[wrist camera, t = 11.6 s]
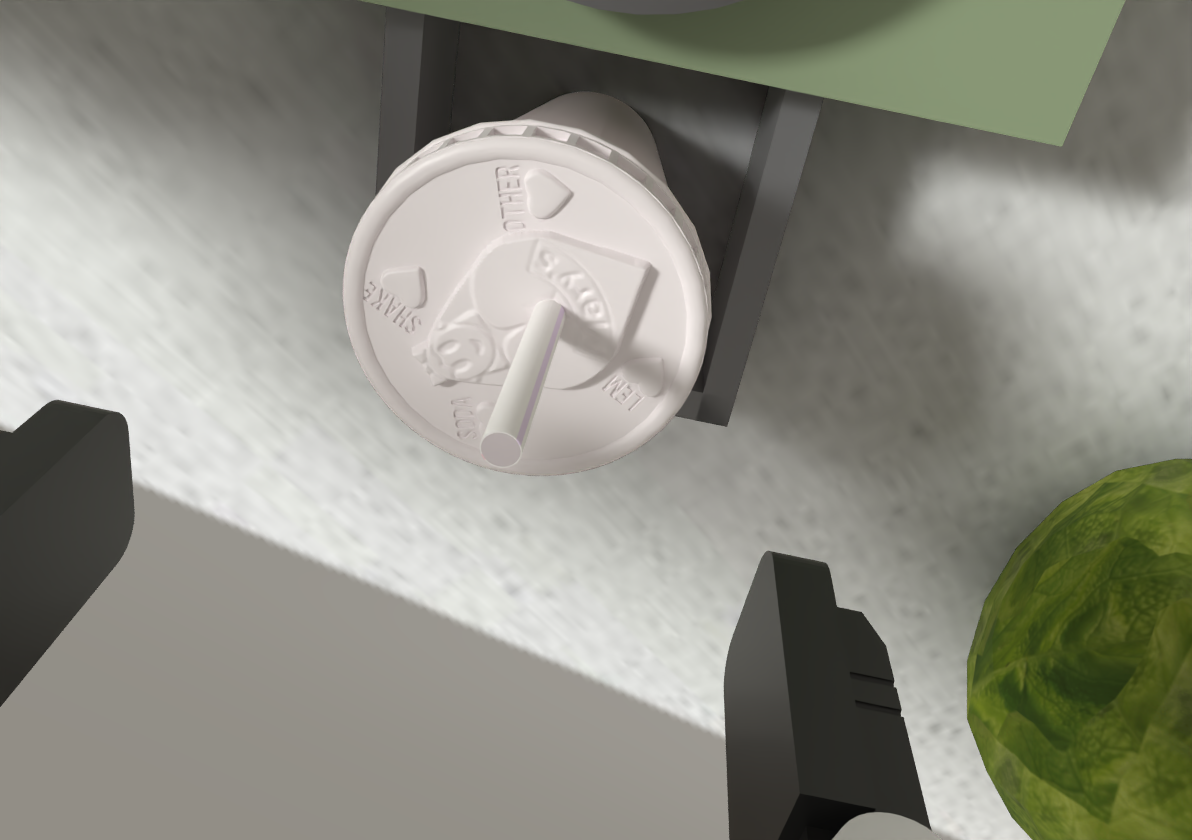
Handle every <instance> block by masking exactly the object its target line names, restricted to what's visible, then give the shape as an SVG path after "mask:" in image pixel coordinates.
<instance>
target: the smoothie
mask: <svg viewBox="0 0 1192 840" xmlns="http://www.w3.org/2000/svg"><path fill="white" fill-rule="evenodd" d="M343 307H344V316H345V321H346V326H347V331H348V334H349V338H350V341H351V344H352V347H353V350H354V352H355V354H356V357H357V359H358V362H359V364H360V366H361V368H362V369H363V371H364V373H365V375H366V377H367V379H368V380H369V382H370V383H371V385H372V386H373V388H374V389H375V391H376V392H377V393H378V395H379V396H380V397H381V399H382V400H383V401H384V403H385V404H386V405H387V406H388V407H389V408H390V409H391V410H392V411H393V412H394V414H395V415H396V416H397V417H398V418H400V419H401V420H402V421H403V422H404V423H405V424H406V425H407V426H408V427H409V428H411V429H412V430H413V431H415V432H416V433H417V434H418V435H420V436H421V437H422V438H424V439H425V440H427V441H428V442H430V443H431V444H433V445H434V446H436V447H438V448H440V449H442V450H443V451H445V452H447V453H449V454H451V455H453V456H455V457H457V458H460V459H462V460H464V461H467V462H469V463H472V464H475V465H478V466H481V467H484V468H488V469H492V470H495V471H500V472H505V473H511V474H519V475H528V476H552V475H564V474H571V473H578V472H582V471H586V470H590V469H594V468H597V467H600V466H603V465H606V464H609V463H611V462H613V461H615V460H618V459H620V458H622V457H624V456H626V455H628V454H629V453H631V452H633V451H635V450H636V449H638V448H639V447H641V446H642V445H644V444H645V443H647V442H648V441H649V440H651V439H652V438H653V437H654V436H655V435H656V434H658V433H659V432H660V431H661V430H662V429H663V428H664V427H665V426H666V425H667V424H668V423H669V422H670V421H671V420H672V419H673V417H674V416H675V415H676V413H677V412H678V411H679V410H680V408H681V407H682V405H683V404H684V402H685V401H686V399H687V397H688V396H689V394H690V392H691V390H692V388H693V386H694V384H695V382H696V380H697V377H698V375H699V372H700V369H701V366H702V363H703V359H704V354H705V350H706V344H707V336H708V330H709V326H710V322H711V318H712V313H711V288H710V271H709V268H708V265H707V262H706V259H705V256H704V253H703V250H702V247H701V244H700V241H699V238H698V235H697V232H696V229H695V226H694V225H693V223H692V222H691V220H690V219H689V217H688V216H687V214H686V213H685V211H684V210H683V208H682V207H681V206H680V204H679V203H678V201H677V200H676V198H675V197H674V195H673V194H672V192H671V191H670V189H669V188H668V185H667V182H666V178H665V175H664V171H663V168H662V164H661V161H660V157H659V154H658V150H657V147H656V144H655V140H654V138H653V136H652V133H651V132H650V130H649V128H648V126H647V125H646V123H645V122H644V120H643V119H642V118H641V117H640V116H639V115H638V114H637V113H636V112H635V111H634V110H633V109H632V108H631V107H629V106H628V105H627V104H625V103H623V102H622V101H620V100H618V99H616V98H614V97H611V96H609V95H606V94H602V93H597V92H588V91H584V92H573V93H568V94H565V95H562V96H559V97H557V98H555V99H552V100H551V101H549V102H547V103H545V104H543V105H541V106H539V107H537V108H535V109H533V110H532V111H530V112H528V113H526V114H524V115H522V116H520V117H518V118H516V119H515V120H510V121H497V122H484V123H478V124H475V125H472V126H470V127H467V128H464V129H462V130H459V131H456V132H453V133H451V134H448V135H445V136H443V137H440V138H437V139H435V140H433V141H431V142H430V143H429V144H427V145H426V146H425V147H423V148H422V149H421V150H419V151H418V152H417V153H415V154H414V155H413V156H412V157H410V158H409V159H408V160H406V161H405V162H404V163H402V164H401V165H400V166H398V167H397V168H396V169H395V170H394V172H393V173H392V174H391V176H390V177H389V179H388V180H387V181H386V183H385V184H384V186H383V187H382V188H381V190H380V191H379V193H378V194H377V195H376V197H375V198H374V200H373V201H372V202H371V203H370V205H369V207H368V208H367V210H366V211H365V213H364V214H363V216H362V218H361V220H360V222H359V224H358V226H357V228H356V230H355V232H354V234H353V237H352V240H351V243H350V246H349V249H348V253H347V257H346V262H345V267H344V275H343Z"/></svg>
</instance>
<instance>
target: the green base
mask: <svg viewBox="0 0 1192 840" xmlns="http://www.w3.org/2000/svg"><path fill="white" fill-rule="evenodd" d="M359 1H364V2H369V3H374V4H379V5H383V6H386V23H385V41H384V58H383V76H382V93H381V111H380V128H379V146H378V163H377V181H376V195H377V194H378V193H379V191H380V190H381V188H382V187H383V186H384V184H385V183H386V181H387V180H388V179H389V177H390V176H391V174H392V173H393V172H394V170H395V169H396V168H397V167H398V166H400V165H401V164H402V163H404V162H405V161H406V160H408V159H409V158H410V157H412V156H413V155H414V154H415V153H417V152H418V151H419V150H421V149H422V148H423V147H425V146H426V145H427V144H429V143H430V142H431V141H433V140H435V139H437V138H440V137H443V136H445V135H448V134H450V123H451V113H452V102H453V92H454V81H455V71H456V60H457V50H458V39H459V29H460V22H465V23H470V24H475V25H479V26H484V27H489V28H494V29H499V30H503V31H508V32H513V33H518V34H523V35H527V36H532V37H537V38H542V39H547V40H551V41H556V42H561V43H566V44H571V45H576V46H580V47H585V48H590V49H595V50H600V51H604V52H609V53H614V54H619V55H624V56H628V57H633V58H638V59H643V60H648V61H652V62H657V63H662V64H667V65H672V66H676V67H681V68H686V69H691V70H696V71H700V72H705V73H710V74H715V75H720V76H724V77H729V78H734V79H739V80H744V81H748V82H753V83H758V84H763V85H768V86H769V89H768V93H767V96H766V100H765V104H764V108H763V112H762V115H761V119H760V123H759V127H758V131H757V134H756V138H755V142H754V146H753V150H752V153H751V157H750V161H749V165H748V169H747V172H746V176H745V180H744V184H743V188H742V191H741V195H740V199H739V203H738V207H737V210H736V214H735V218H734V222H733V226H732V229H731V233H730V237H729V241H728V245H727V248H726V252H725V256H724V260H723V263H722V267H721V271H720V275H719V279H718V282H717V286H716V290H715V294H714V298H713V301H712V305H711V313H712V318H711V322H710V326H709V330H708V336H707V344H706V350H705V354H704V359H703V363H702V366H701V369H700V372H699V375H698V377H697V380H696V382H695V384H694V386H693V388H692V390H691V392H690V394H689V396H688V397H687V399H686V401H685V402H684V404H683V405H682V407H681V408H680V410H679V411H678V412H677V413H676V415H675V416H678V417H682V418H687V419H692V420H697V421H701V422H706V423H711V424H716V425H721V426H725V427H727V425H728V422H729V419H730V415H731V412H732V408H733V405H734V402H735V398H736V395H737V391H738V388H739V385H740V381H741V378H742V374H743V371H744V368H745V364H746V361H747V357H748V354H749V351H750V347H751V344H752V341H753V337H754V334H755V330H756V327H757V324H758V320H759V317H760V313H761V310H762V307H763V303H764V300H765V296H766V293H767V290H768V286H769V283H770V279H771V276H772V273H773V269H774V266H775V262H776V259H777V256H778V252H779V249H780V245H781V242H782V239H783V235H784V232H785V228H786V225H787V222H788V218H789V215H790V211H791V208H792V205H793V201H794V198H795V194H796V191H797V188H798V184H799V181H800V177H801V174H802V171H803V167H804V164H805V160H806V157H807V154H808V150H809V147H810V144H811V140H812V137H813V133H814V130H815V127H816V123H817V120H818V116H819V113H820V110H821V106H822V103H823V99H824V97H825V98H830V99H835V100H840V101H844V102H849V103H854V104H859V105H864V106H868V107H873V108H878V109H883V110H888V111H892V112H897V113H902V114H907V115H912V116H916V117H921V118H926V119H931V120H936V121H940V122H945V123H950V124H955V125H960V126H964V127H969V128H974V129H979V130H984V131H988V132H993V133H998V134H1003V135H1008V136H1012V137H1017V138H1022V139H1027V140H1032V141H1036V142H1041V143H1046V144H1051V145H1056V146H1060V147H1062V146H1063V143H1064V141H1065V139H1066V136H1067V134H1068V132H1069V130H1070V127H1071V125H1072V123H1073V120H1074V118H1075V116H1076V113H1077V111H1078V109H1079V106H1080V104H1081V102H1082V100H1083V97H1084V95H1085V93H1086V90H1087V88H1088V86H1089V83H1090V81H1091V79H1092V76H1093V74H1094V72H1095V70H1096V67H1097V65H1098V63H1099V60H1100V58H1101V56H1102V53H1103V51H1104V49H1105V46H1106V44H1107V42H1108V40H1109V37H1110V35H1111V33H1112V30H1113V28H1114V26H1115V23H1116V21H1117V19H1118V17H1119V14H1120V12H1121V10H1122V7H1123V5H1124V3H1125V0H359Z"/></svg>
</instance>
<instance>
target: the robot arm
mask: <svg viewBox="0 0 1192 840" xmlns="http://www.w3.org/2000/svg"><path fill="white" fill-rule="evenodd" d="M133 524H134V499H133V485H132V471H131V458H130V444H129V431H128V425H127V422H126V419H125V417H124V416H123V415H122V414H120V413H118V412H114V411H109V410H104V409H99V408H95V407H90V406H85V405H80V404H76V403H71V402H66V401H61V400H54V401H51V402H49V403H48V404H46V405H45V406H43V407H42V408H41V409H40V410H39V411H38V412H36V413H35V414H34V415H33V416H32V417H30V418H29V419H28V420H27V421H26V422H25V423H23V424H22V425H21V426H20V427H19V428H17V429H16V430H15V431H14V432H13V433H11V432H6V431H1V430H0V707H1V706H2V704H3V703H4V702H5V701H6V699H7V698H8V697H9V695H10V694H11V693H12V692H13V691H14V690H15V688H16V687H17V686H18V685H19V683H20V682H21V681H22V680H23V678H24V677H25V676H26V675H27V674H28V672H29V671H30V670H31V669H32V668H33V666H34V665H35V664H36V663H37V661H38V660H39V659H40V658H41V657H42V655H43V654H44V653H45V652H46V650H47V649H48V648H49V647H50V645H51V644H52V643H53V642H54V640H55V639H56V638H57V637H58V636H59V634H60V633H61V632H62V631H63V630H64V628H65V627H66V626H67V625H68V623H69V622H70V621H71V620H72V618H73V617H74V616H75V615H76V614H77V612H78V611H79V610H80V609H81V607H82V606H83V605H84V604H85V603H86V601H87V600H88V599H89V598H90V596H91V595H92V594H93V593H94V592H95V590H96V589H97V588H98V587H99V585H100V584H101V583H102V582H103V580H104V579H105V578H106V577H107V576H108V574H109V573H110V572H111V571H112V570H113V568H114V567H115V566H116V565H117V563H118V562H119V561H120V559H121V557H122V556H123V554H124V552H125V550H126V548H127V546H128V543H129V540H130V537H131V534H132V530H133ZM724 707H725V734H726V759H727V787H728V812H729V839H730V840H943V839H942V838H941V837H940V836H938V835H937V834H936V833H934V832H933V831H932V830H931V827H930V823H929V819H928V815H927V811H926V807H925V803H924V799H923V795H922V791H921V787H920V783H919V778H918V774H917V770H916V766H915V762H914V758H913V754H912V750H911V746H910V742H909V738H908V734H907V730H906V726H905V722H904V717H901V710H902V709H901V705H900V701H899V697H898V693H897V689H896V688H895V687H894V677H893V673H892V669H891V665H890V661H889V656H888V652H887V648H886V645H885V644H884V643H883V641H882V640H881V638H880V637H879V636H878V634H877V633H876V631H875V630H874V629H873V627H872V626H871V624H870V623H869V621H868V620H867V619H866V617H865V616H864V614H863V613H862V612H858V611H854V610H849V609H844V608H839V607H837V605H836V600H835V595H834V589H833V584H832V579H831V574H830V570H829V567H828V565H827V564H826V563H824V562H819V561H815V560H810V559H805V558H800V557H796V556H791V555H786V554H781V553H777V552H772V551H767V552H766V553H765V554H764V555H763V557H762V559H761V561H760V563H759V566H758V568H757V571H756V574H755V577H754V579H753V582H752V585H751V588H750V590H749V593H748V596H747V599H746V601H745V604H744V607H743V609H742V612H741V615H740V618H739V620H738V623H737V626H736V629H735V631H734V634H733V637H732V640H731V643H730V647H729V651H728V656H727V661H726V667H725V676H724Z"/></svg>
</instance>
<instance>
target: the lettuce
mask: <svg viewBox="0 0 1192 840" xmlns="http://www.w3.org/2000/svg"><path fill="white" fill-rule="evenodd" d="M967 720H968V723H969V725H970V728H971V731H972V733H973V736H974V739H975V741H976V744H977V747H978V749H979V752H980V755H981V757H982V760H983V763H984V765H985V768H986V771H987V773H988V774H989V776H990V778H991V780H992V782H993V784H994V785H995V787H996V789H997V791H998V793H999V795H1000V796H1001V798H1002V800H1003V802H1004V804H1005V806H1006V807H1007V809H1008V811H1009V813H1010V815H1011V817H1012V818H1013V819H1014V820H1015V821H1016V822H1017V823H1018V825H1019V826H1020V827H1021V828H1022V829H1023V830H1024V831H1025V832H1026V833H1027V834H1028V835H1029V837H1030V838H1031V839H1032V840H1192V459H1173V460H1168V461H1163V462H1158V463H1153V464H1148V465H1143V466H1138V467H1133V468H1128V469H1123V470H1118V471H1115V472H1113V473H1112V474H1110V475H1108V476H1106V477H1105V478H1103V479H1101V480H1099V481H1098V482H1096V483H1094V484H1092V485H1091V486H1089V487H1087V488H1086V489H1084V490H1082V491H1080V492H1079V493H1077V494H1075V495H1073V496H1072V497H1070V498H1068V499H1066V500H1065V501H1063V502H1062V503H1061V504H1060V505H1059V506H1058V507H1057V508H1056V509H1055V510H1054V511H1053V512H1052V513H1051V514H1050V515H1049V516H1048V517H1047V518H1046V519H1045V520H1044V521H1043V522H1042V523H1041V524H1040V525H1039V526H1038V527H1037V528H1036V529H1035V530H1034V531H1033V532H1032V533H1031V534H1030V535H1029V536H1028V537H1027V538H1026V539H1025V540H1024V541H1023V542H1022V543H1021V544H1020V545H1019V546H1018V547H1017V548H1016V550H1015V552H1014V553H1013V555H1012V557H1011V558H1010V560H1009V562H1008V563H1007V565H1006V567H1005V568H1004V570H1003V572H1002V573H1001V575H1000V577H999V578H998V580H997V582H996V583H995V585H994V587H993V588H992V590H991V592H990V593H989V595H988V597H987V598H986V600H985V602H984V605H983V609H982V612H981V616H980V619H979V622H978V626H977V629H976V632H975V636H974V639H973V642H972V646H971V649H970V653H969V656H968V659H967Z"/></svg>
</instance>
